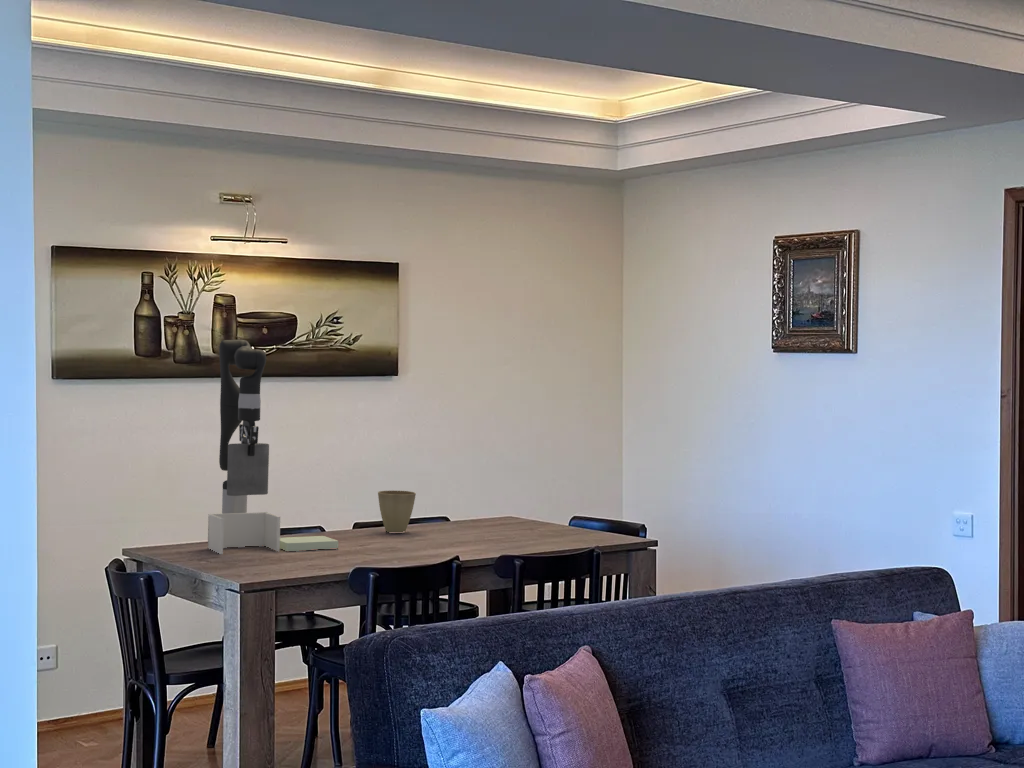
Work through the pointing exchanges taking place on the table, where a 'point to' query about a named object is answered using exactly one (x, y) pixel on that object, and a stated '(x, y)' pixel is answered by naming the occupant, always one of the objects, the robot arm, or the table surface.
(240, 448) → the flask
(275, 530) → the bay
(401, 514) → the plant pot
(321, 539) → the stand
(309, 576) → the table surface
